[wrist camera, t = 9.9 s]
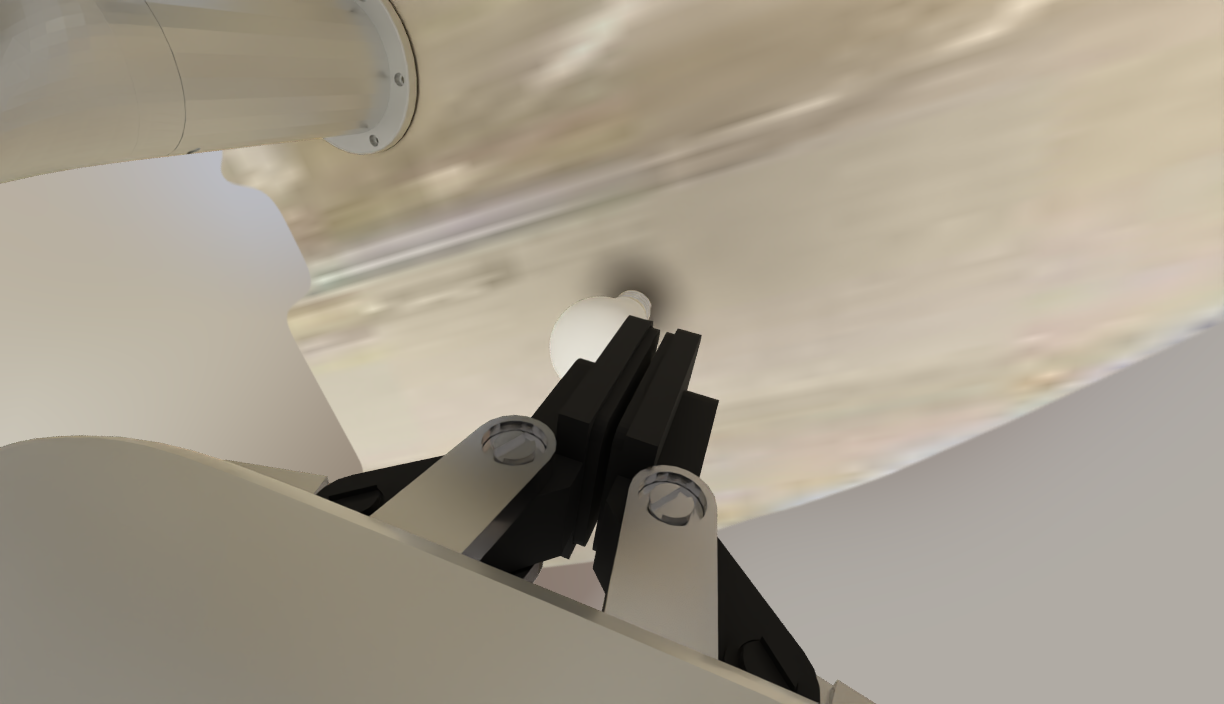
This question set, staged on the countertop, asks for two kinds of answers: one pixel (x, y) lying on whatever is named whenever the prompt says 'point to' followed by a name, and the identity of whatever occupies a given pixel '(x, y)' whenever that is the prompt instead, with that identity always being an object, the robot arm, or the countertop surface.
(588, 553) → the countertop surface
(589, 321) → the light bulb
